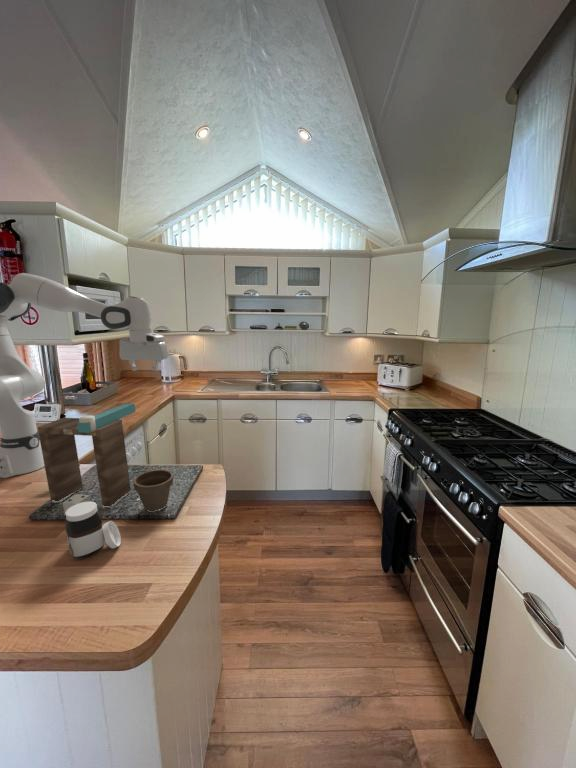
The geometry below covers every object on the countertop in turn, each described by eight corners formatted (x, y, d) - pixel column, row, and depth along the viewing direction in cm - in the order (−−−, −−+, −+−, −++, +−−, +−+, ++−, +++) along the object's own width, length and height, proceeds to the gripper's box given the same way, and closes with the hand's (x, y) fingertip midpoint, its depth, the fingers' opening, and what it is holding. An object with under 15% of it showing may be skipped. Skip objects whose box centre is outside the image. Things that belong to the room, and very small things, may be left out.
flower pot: (183, 499, 110) (180, 471, 108) (160, 519, 99) (157, 488, 97) (153, 495, 113) (150, 467, 111) (128, 514, 102) (124, 483, 100)
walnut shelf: (50, 503, 109) (36, 427, 104) (75, 487, 119) (64, 417, 114) (110, 508, 105) (98, 430, 100) (131, 492, 115) (121, 419, 110)
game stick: (77, 432, 98) (75, 419, 98) (126, 411, 120) (124, 400, 119) (89, 432, 98) (87, 419, 97) (136, 411, 119) (134, 400, 118)
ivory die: (65, 517, 101) (62, 501, 100) (78, 508, 106) (75, 492, 105) (79, 519, 100) (77, 502, 99) (92, 509, 105) (89, 493, 104)
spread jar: (66, 547, 88) (58, 507, 85) (112, 528, 96) (106, 490, 93) (77, 571, 79) (70, 527, 77) (127, 547, 87) (122, 507, 85)
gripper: (113, 338, 137) (118, 371, 139) (159, 337, 133) (163, 371, 136) (124, 337, 143) (127, 369, 145) (168, 336, 139) (171, 369, 142)
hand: (145, 370), depth 141 cm, fingers open, 8 cm apart
